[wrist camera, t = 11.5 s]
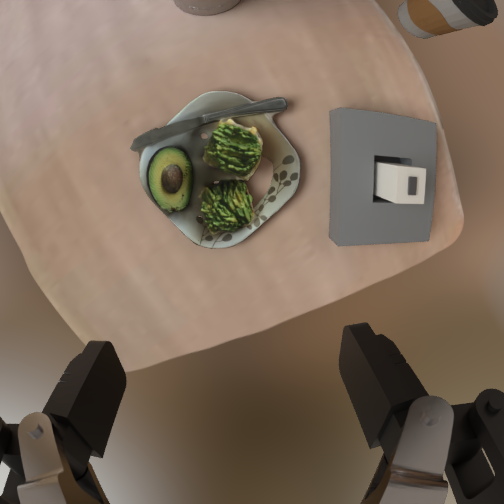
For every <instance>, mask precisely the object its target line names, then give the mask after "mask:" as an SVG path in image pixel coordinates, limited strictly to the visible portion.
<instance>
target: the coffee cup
mask: <svg viewBox="0 0 504 504" xmlns="http://www.w3.org/2000/svg"><path fill="white" fill-rule="evenodd" d="M497 15H498V10H497V7H496V4H495V2H494V0H406V1H405V2H403V3H402V4H401V5H400V6H399V8H398V17H399V21H400V22H401V24H402V25H403V27H404V28H405V29H406V30H407V31H408V32H409V33H411V34H412V35H414V36H416V37H419V38H423V39H425V38H430V37H433V36H437V35H442V34H446V33H450V32H454V31H458V30H462V29H464V28H469V27H474V26H479V25H481V26H485V25H487V24H490V23H492V22H493V20H494V18H496V17H497Z"/></svg>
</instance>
